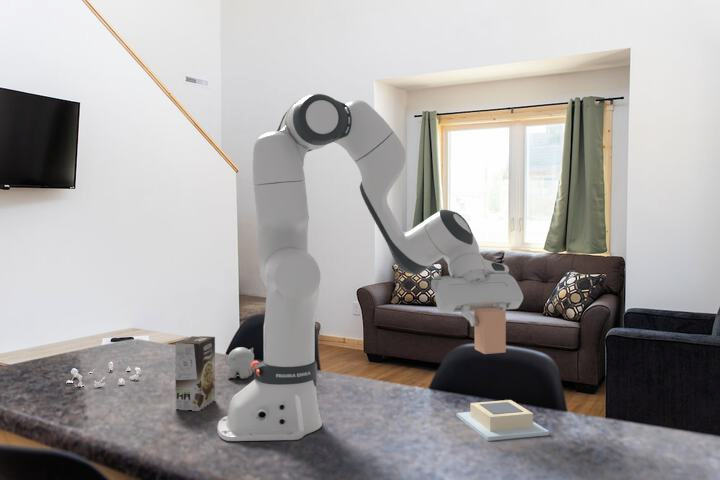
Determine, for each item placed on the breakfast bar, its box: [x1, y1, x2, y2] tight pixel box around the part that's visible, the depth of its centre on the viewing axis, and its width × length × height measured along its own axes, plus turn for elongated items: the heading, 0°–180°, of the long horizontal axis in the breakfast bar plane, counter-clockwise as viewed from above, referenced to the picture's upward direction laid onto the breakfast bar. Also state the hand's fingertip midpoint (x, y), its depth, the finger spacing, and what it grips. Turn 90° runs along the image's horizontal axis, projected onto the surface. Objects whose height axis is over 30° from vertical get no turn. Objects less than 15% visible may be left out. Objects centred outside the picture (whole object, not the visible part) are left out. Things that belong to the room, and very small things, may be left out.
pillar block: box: [473, 308, 507, 355], centre depth 136 cm, size 5×5×9 cm
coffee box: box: [174, 335, 216, 412], centre depth 150 cm, size 9×6×16 cm
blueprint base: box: [456, 399, 550, 442], centre depth 136 cm, size 14×16×4 cm
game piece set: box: [66, 361, 141, 387], centre depth 174 cm, size 19×20×4 cm
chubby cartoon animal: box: [226, 346, 255, 380], centre depth 178 cm, size 7×12×8 cm, turn 166°
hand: (489, 323), depth 136 cm, fingers closed on pillar block, 5 cm apart
